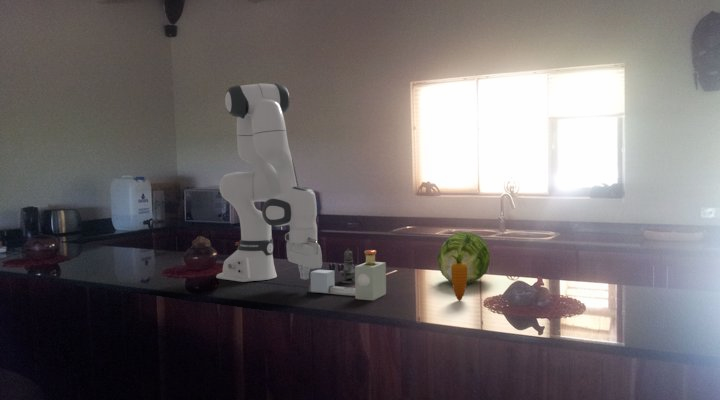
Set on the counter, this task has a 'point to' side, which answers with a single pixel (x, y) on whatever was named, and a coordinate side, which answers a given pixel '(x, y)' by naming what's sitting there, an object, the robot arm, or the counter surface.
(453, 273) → the carrot
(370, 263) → the copper knob
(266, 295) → the counter surface
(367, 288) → the block with square hole
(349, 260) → the stone chess piece
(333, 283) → the block
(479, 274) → the lettuce
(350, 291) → the rail
